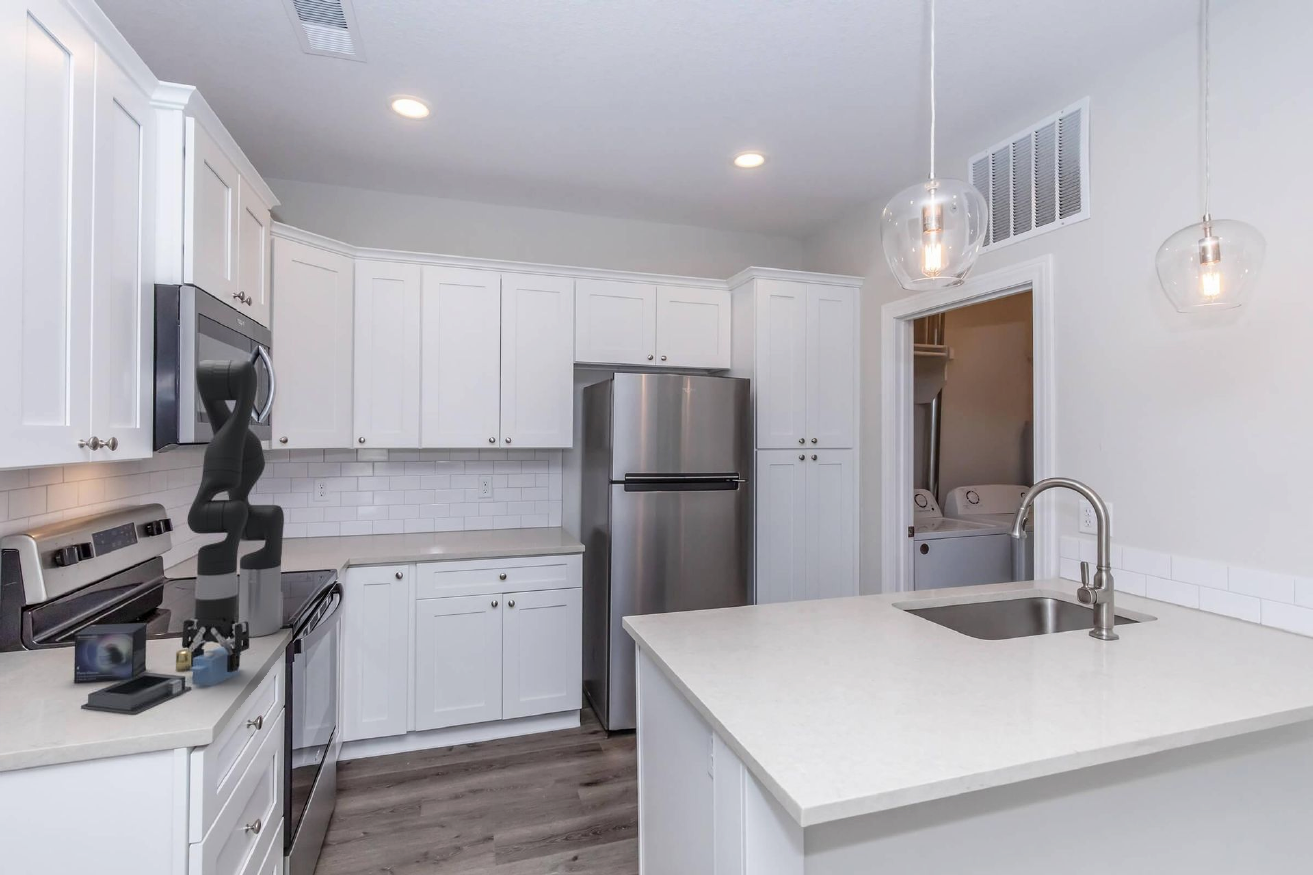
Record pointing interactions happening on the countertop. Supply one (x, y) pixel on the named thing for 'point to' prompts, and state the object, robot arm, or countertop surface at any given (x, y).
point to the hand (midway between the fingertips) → (215, 669)
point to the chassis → (137, 693)
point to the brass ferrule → (183, 660)
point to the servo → (211, 667)
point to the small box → (110, 652)
